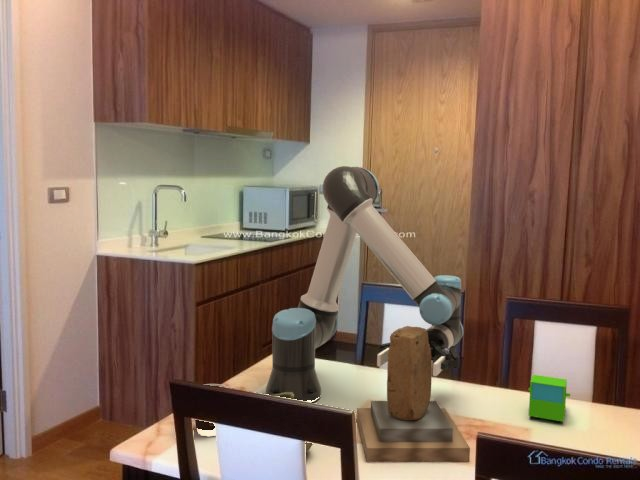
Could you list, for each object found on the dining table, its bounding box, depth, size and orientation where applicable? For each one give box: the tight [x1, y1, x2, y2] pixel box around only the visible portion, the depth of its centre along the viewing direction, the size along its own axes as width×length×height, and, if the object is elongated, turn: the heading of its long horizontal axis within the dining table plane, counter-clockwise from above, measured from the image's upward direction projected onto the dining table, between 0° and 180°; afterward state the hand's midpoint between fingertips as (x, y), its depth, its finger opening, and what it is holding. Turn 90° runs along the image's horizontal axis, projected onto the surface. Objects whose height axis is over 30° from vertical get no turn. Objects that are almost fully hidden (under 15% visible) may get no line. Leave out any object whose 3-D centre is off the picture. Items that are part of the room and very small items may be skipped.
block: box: [386, 325, 433, 420], centre depth 135 cm, size 11×8×20 cm
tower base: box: [356, 400, 471, 463], centre depth 136 cm, size 22×22×6 cm
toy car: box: [528, 374, 571, 424], centre depth 152 cm, size 10×13×10 cm
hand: (405, 365), depth 132 cm, fingers open, 12 cm apart
